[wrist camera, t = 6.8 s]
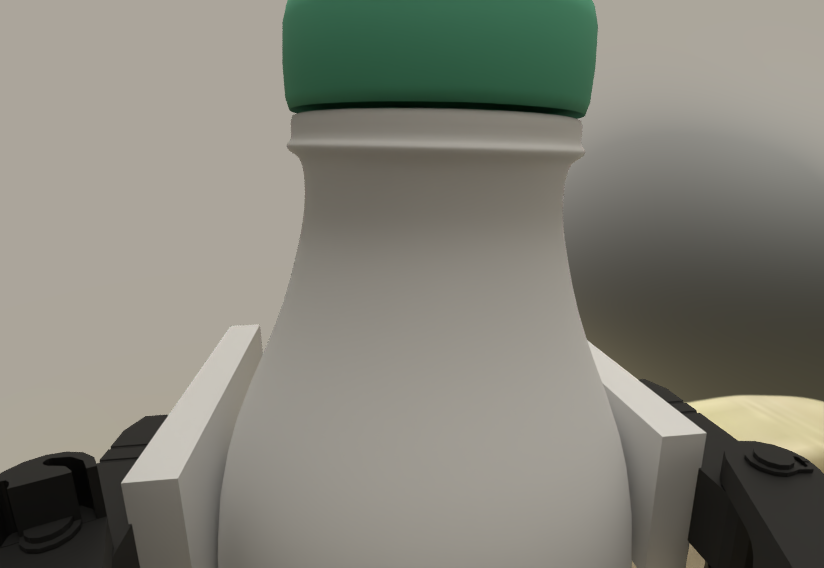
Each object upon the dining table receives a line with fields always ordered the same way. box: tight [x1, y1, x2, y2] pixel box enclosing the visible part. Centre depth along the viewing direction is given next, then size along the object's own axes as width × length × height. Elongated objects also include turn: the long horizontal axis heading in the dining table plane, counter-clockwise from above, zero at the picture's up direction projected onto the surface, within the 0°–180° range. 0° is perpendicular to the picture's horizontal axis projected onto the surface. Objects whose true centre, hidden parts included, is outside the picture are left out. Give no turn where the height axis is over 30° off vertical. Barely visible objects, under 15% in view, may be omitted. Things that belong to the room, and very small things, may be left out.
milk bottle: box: [217, 0, 632, 568], centre depth 10 cm, size 8×8×20 cm
